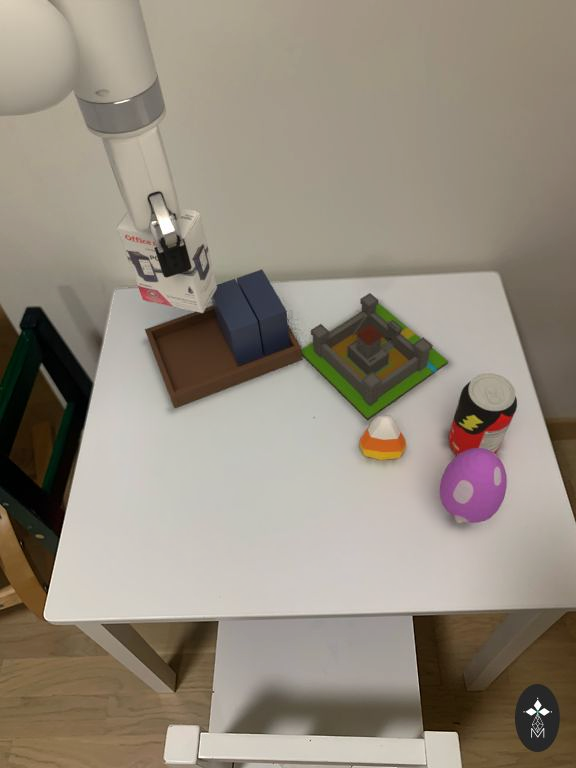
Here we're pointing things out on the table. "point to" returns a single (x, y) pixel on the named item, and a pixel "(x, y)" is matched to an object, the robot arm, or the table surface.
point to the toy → (473, 485)
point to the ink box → (175, 290)
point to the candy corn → (383, 439)
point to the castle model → (372, 358)
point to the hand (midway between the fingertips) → (165, 245)
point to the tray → (206, 357)
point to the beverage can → (483, 413)
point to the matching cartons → (251, 317)
